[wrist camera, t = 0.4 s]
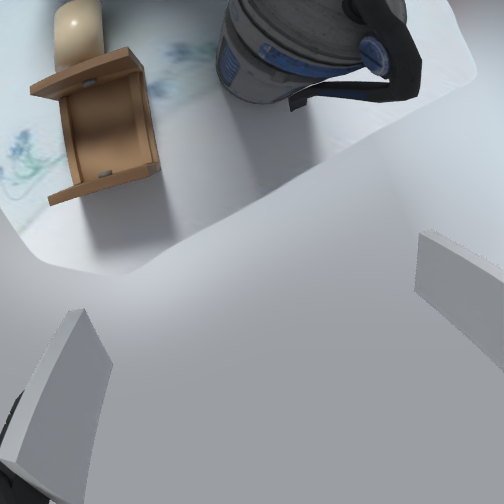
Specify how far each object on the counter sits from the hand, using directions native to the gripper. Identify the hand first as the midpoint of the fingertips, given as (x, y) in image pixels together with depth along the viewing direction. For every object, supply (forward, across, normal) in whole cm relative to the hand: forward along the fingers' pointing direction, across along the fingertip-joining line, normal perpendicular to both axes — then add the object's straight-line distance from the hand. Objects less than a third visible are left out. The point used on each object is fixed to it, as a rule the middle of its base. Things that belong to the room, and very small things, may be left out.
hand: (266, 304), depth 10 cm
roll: (+23, -13, +23) cm, 35 cm away
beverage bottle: (+26, +7, +13) cm, 30 cm away
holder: (+26, -12, +10) cm, 30 cm away
